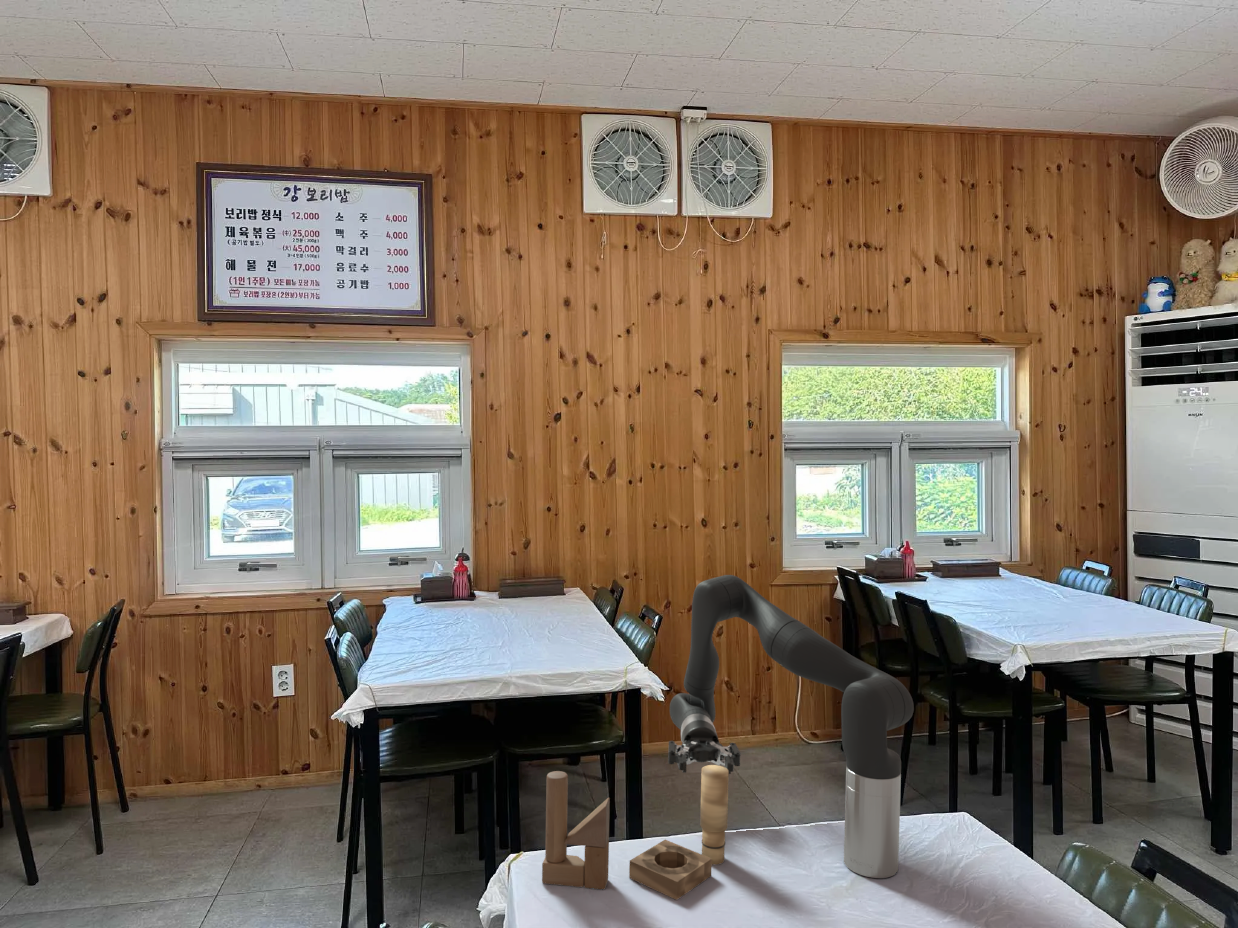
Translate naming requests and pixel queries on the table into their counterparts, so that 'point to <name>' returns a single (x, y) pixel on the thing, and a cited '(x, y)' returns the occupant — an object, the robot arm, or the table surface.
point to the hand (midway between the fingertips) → (706, 768)
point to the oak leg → (714, 811)
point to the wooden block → (574, 840)
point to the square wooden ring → (670, 869)
